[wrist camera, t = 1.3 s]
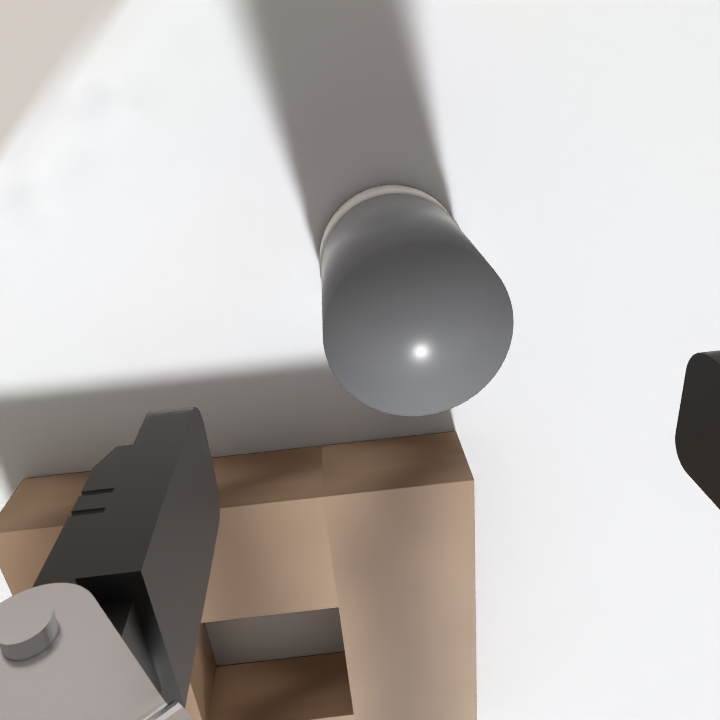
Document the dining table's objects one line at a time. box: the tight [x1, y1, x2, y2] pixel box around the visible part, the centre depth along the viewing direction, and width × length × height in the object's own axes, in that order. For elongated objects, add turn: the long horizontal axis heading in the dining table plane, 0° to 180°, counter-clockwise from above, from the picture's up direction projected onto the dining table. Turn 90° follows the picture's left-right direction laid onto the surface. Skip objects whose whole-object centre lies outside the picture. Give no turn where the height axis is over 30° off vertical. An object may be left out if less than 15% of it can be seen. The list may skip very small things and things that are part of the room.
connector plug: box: [320, 184, 513, 416], centre depth 17 cm, size 4×4×6 cm
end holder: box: [0, 431, 477, 720], centre depth 25 cm, size 16×16×3 cm
